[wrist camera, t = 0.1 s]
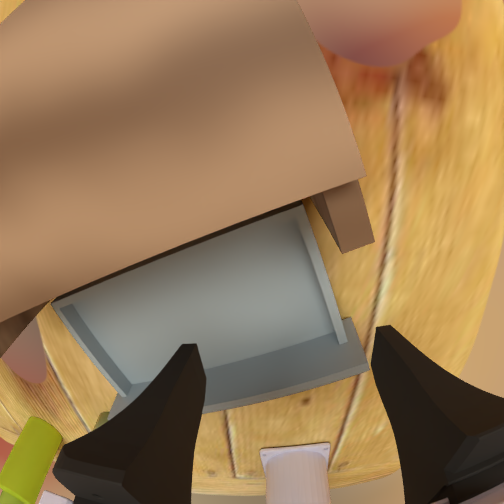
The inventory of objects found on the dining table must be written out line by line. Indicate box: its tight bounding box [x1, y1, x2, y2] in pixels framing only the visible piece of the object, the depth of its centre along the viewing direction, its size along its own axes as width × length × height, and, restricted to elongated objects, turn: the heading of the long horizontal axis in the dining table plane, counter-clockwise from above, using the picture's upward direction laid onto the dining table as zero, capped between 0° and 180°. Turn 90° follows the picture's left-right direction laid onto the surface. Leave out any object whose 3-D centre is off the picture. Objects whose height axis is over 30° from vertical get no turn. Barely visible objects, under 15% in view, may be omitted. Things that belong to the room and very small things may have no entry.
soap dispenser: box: [0, 417, 62, 504], centre depth 25 cm, size 6×7×20 cm
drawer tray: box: [51, 199, 370, 420], centre depth 21 cm, size 11×21×5 cm, turn 112°
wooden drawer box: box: [0, 0, 375, 358], centre depth 14 cm, size 13×23×11 cm, turn 112°
